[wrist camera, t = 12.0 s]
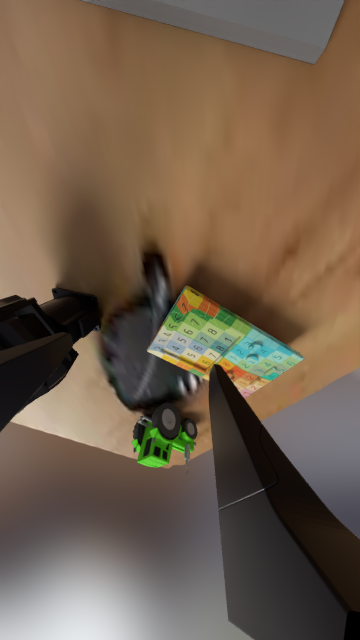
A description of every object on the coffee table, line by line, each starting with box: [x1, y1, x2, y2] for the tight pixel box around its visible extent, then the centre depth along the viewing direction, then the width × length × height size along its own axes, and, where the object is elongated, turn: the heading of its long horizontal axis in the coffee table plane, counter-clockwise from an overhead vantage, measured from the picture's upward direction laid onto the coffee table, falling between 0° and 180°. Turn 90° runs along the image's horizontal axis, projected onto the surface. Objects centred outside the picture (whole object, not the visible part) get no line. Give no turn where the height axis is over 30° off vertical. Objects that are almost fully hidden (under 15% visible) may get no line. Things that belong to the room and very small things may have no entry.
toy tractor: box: [132, 402, 197, 474], centre depth 33 cm, size 11×16×10 cm
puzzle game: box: [147, 285, 305, 397], centre depth 22 cm, size 12×5×20 cm
